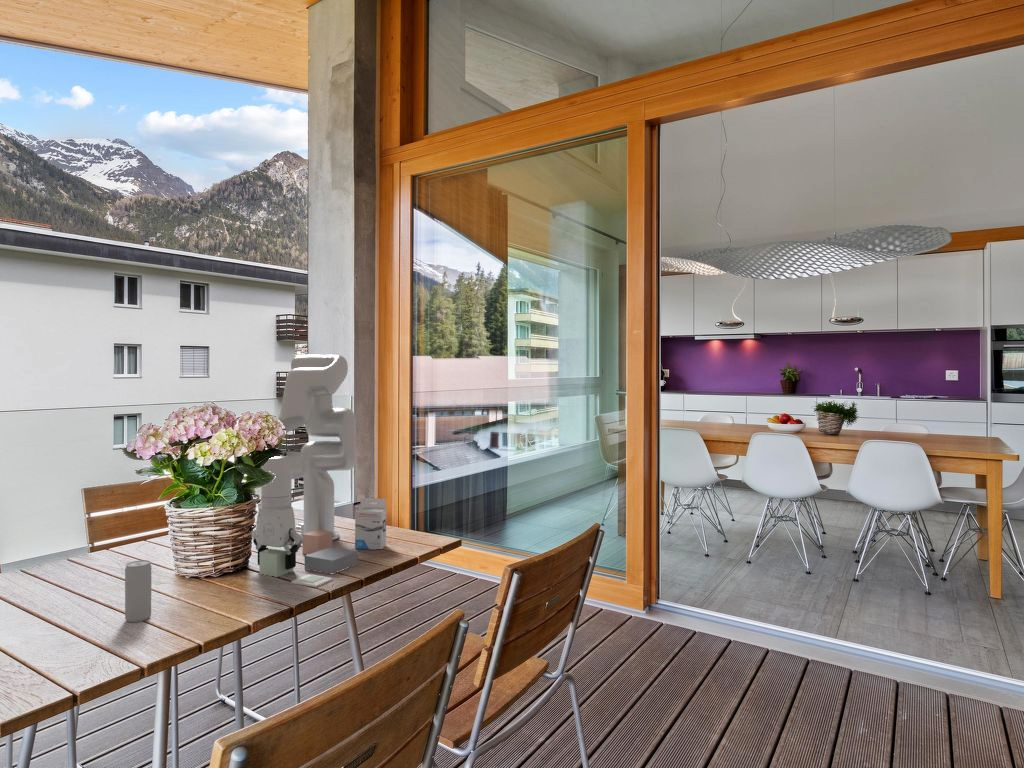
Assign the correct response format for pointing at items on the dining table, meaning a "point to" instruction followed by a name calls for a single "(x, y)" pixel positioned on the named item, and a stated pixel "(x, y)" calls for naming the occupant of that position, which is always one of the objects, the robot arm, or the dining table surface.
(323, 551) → the slate base block
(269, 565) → the sage cube
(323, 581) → the card
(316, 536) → the brick cube
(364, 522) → the ink box
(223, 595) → the dining table surface
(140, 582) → the beverage can
